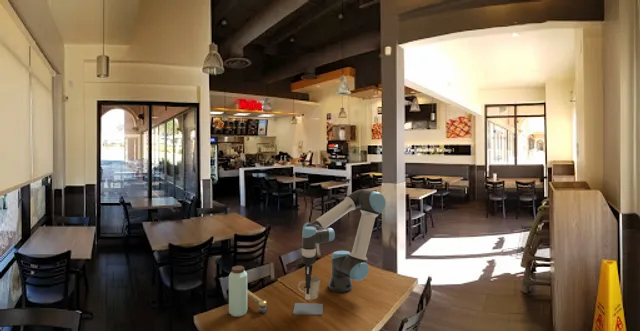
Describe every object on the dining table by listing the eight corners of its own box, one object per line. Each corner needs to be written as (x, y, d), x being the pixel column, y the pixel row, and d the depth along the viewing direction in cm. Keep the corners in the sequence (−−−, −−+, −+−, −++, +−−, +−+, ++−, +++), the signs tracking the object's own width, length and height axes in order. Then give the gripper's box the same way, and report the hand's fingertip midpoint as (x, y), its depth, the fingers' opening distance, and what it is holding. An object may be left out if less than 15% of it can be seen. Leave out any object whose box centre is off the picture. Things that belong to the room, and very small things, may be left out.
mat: (323, 304, 198) (323, 303, 198) (322, 315, 186) (322, 314, 186) (295, 303, 199) (295, 302, 199) (292, 314, 187) (292, 313, 187)
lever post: (267, 309, 192) (267, 304, 191) (266, 313, 187) (266, 308, 187) (259, 309, 192) (259, 304, 192) (258, 313, 187) (258, 308, 187)
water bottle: (231, 319, 181) (230, 272, 179) (226, 310, 190) (226, 266, 188) (250, 315, 186) (249, 269, 184) (244, 306, 195) (244, 263, 193)
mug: (318, 301, 187) (318, 282, 186) (295, 298, 190) (295, 280, 189) (321, 294, 195) (321, 277, 194) (299, 292, 198) (299, 275, 197)
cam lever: (245, 290, 209) (245, 285, 208) (268, 306, 189) (268, 301, 189) (239, 292, 206) (239, 287, 206) (261, 309, 186) (261, 303, 186)
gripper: (303, 249, 200) (302, 288, 202) (300, 261, 181) (299, 304, 183) (316, 250, 200) (315, 289, 201) (314, 261, 181) (314, 304, 182)
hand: (308, 296), depth 192 cm, fingers closed on mug, 6 cm apart
